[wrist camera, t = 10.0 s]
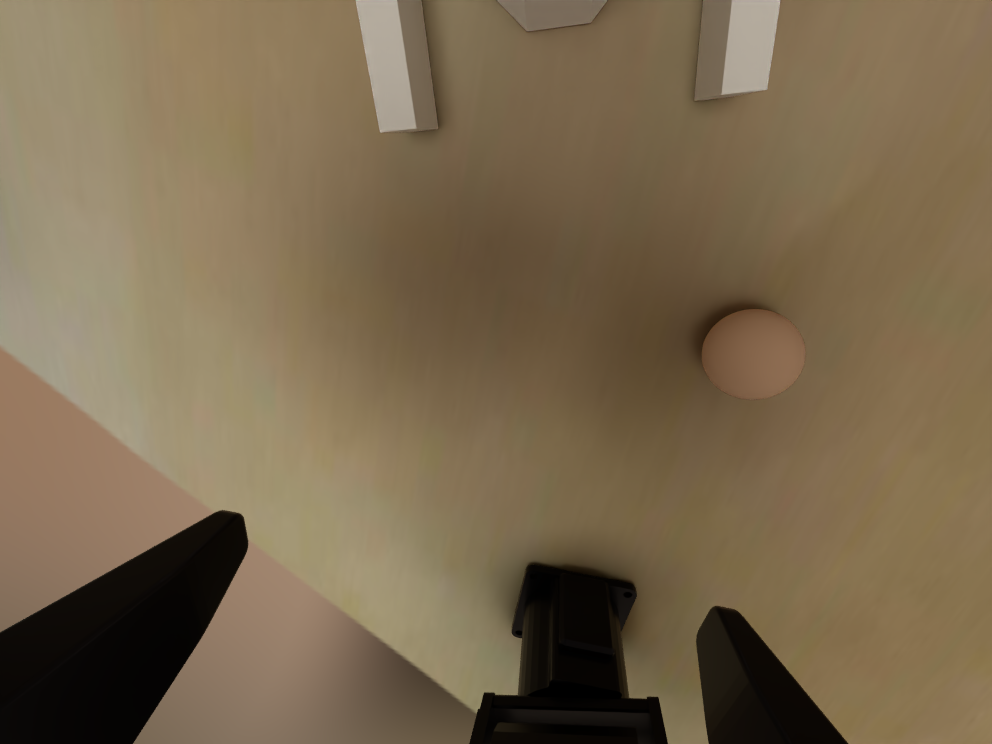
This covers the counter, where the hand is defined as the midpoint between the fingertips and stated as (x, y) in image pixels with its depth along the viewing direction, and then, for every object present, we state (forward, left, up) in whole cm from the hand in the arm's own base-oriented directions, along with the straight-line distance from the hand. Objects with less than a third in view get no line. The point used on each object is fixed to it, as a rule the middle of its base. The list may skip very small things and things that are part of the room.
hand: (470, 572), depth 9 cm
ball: (+1, -9, -13) cm, 16 cm away
